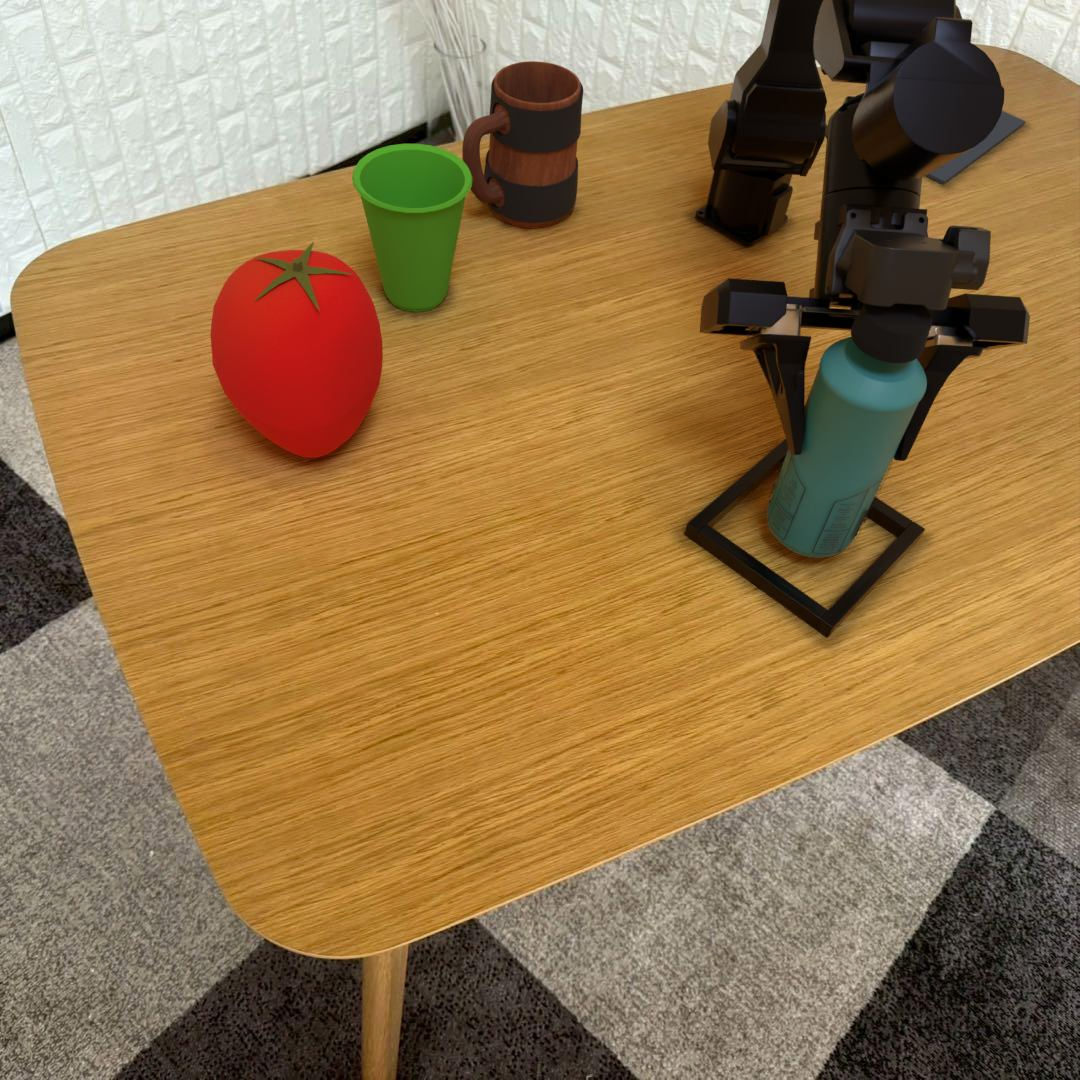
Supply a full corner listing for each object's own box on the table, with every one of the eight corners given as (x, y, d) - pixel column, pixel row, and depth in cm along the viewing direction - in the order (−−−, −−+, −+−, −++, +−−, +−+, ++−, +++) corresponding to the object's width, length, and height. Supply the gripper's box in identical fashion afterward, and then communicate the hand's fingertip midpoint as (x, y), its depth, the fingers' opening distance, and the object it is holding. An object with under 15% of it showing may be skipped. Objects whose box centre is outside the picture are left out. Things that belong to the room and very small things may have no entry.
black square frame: (683, 534, 71) (687, 523, 70) (781, 449, 77) (785, 438, 76) (827, 638, 66) (832, 627, 65) (919, 539, 72) (925, 528, 71)
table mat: (842, 135, 107) (844, 132, 106) (928, 81, 116) (929, 78, 115) (943, 184, 102) (945, 181, 102) (1024, 124, 111) (1025, 121, 111)
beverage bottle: (849, 582, 69) (965, 359, 54) (752, 563, 70) (840, 335, 54) (850, 512, 73) (959, 285, 58) (759, 494, 74) (842, 264, 58)
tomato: (395, 477, 72) (385, 320, 61) (230, 492, 70) (190, 332, 59) (379, 359, 80) (368, 200, 69) (230, 370, 78) (194, 208, 67)
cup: (386, 339, 82) (379, 220, 73) (345, 274, 86) (334, 155, 78) (487, 312, 85) (492, 194, 76) (443, 250, 89) (442, 133, 81)
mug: (434, 208, 93) (433, 84, 84) (535, 168, 99) (543, 48, 89) (492, 255, 89) (497, 131, 80) (594, 211, 95) (609, 90, 86)
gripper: (751, 153, 53) (729, 452, 55) (1098, 177, 54) (1065, 471, 56) (707, 200, 64) (689, 448, 66) (995, 220, 65) (970, 464, 67)
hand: (847, 457), depth 63 cm, fingers closed on beverage bottle, 6 cm apart
